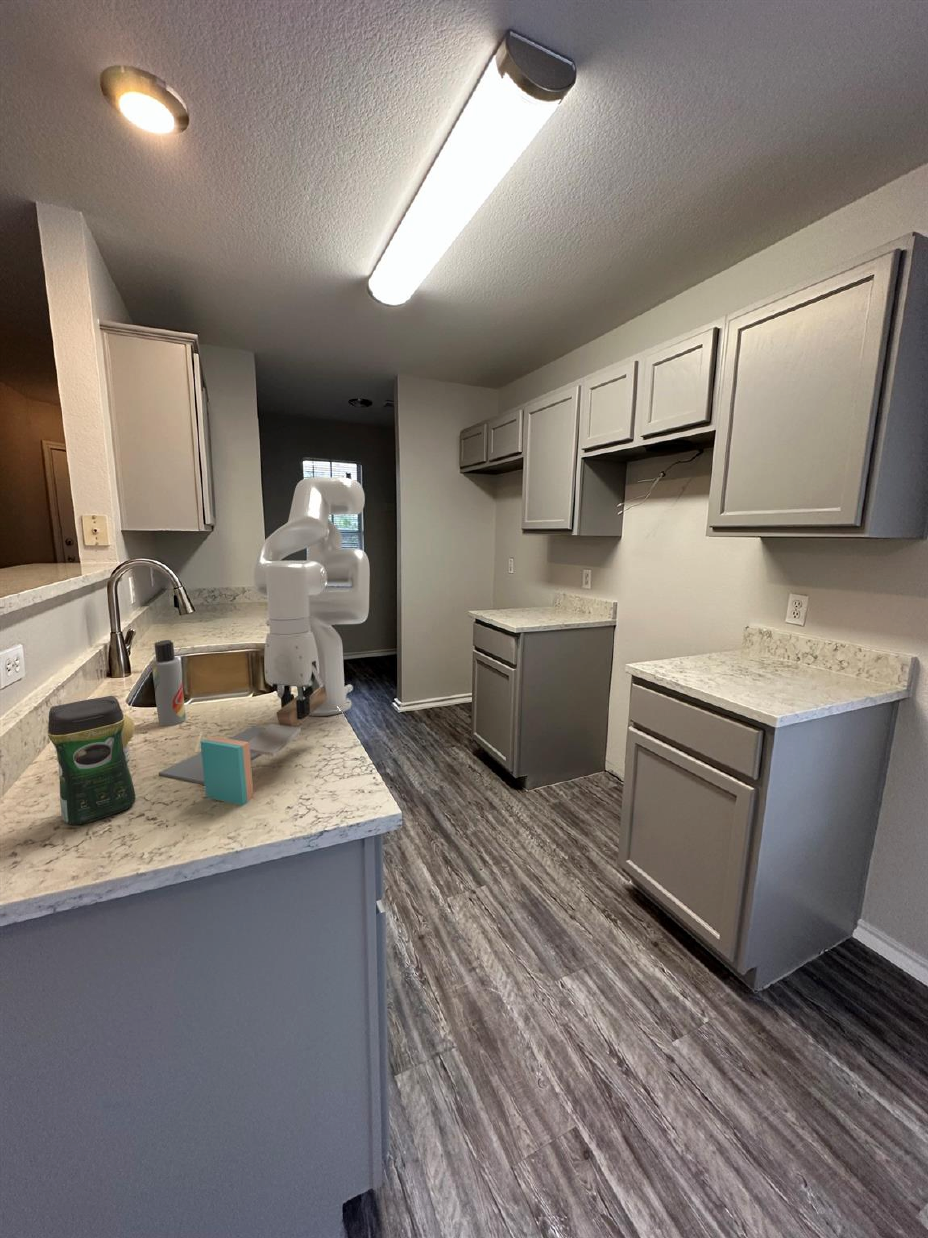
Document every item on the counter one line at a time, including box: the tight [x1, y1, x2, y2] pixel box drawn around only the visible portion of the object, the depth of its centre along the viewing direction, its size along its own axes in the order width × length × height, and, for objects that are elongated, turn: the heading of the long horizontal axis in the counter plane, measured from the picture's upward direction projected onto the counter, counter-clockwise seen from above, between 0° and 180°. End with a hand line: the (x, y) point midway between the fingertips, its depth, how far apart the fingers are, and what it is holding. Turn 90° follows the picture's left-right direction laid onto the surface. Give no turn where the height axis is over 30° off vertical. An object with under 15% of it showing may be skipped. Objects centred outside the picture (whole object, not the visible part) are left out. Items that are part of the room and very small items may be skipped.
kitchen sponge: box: [199, 736, 255, 806], centre depth 81 cm, size 2×8×10 cm, turn 71°
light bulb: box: [122, 714, 136, 763], centre depth 95 cm, size 6×6×10 cm
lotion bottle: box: [151, 639, 187, 727], centre depth 116 cm, size 6×6×20 cm
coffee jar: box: [47, 695, 136, 826], centre depth 77 cm, size 10×8×19 cm
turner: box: [249, 684, 328, 757], centre depth 96 cm, size 20×7×4 cm, turn 161°
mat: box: [158, 725, 266, 785], centre depth 100 cm, size 24×12×1 cm, turn 160°
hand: (296, 715), depth 98 cm, fingers closed on turner, 3 cm apart
